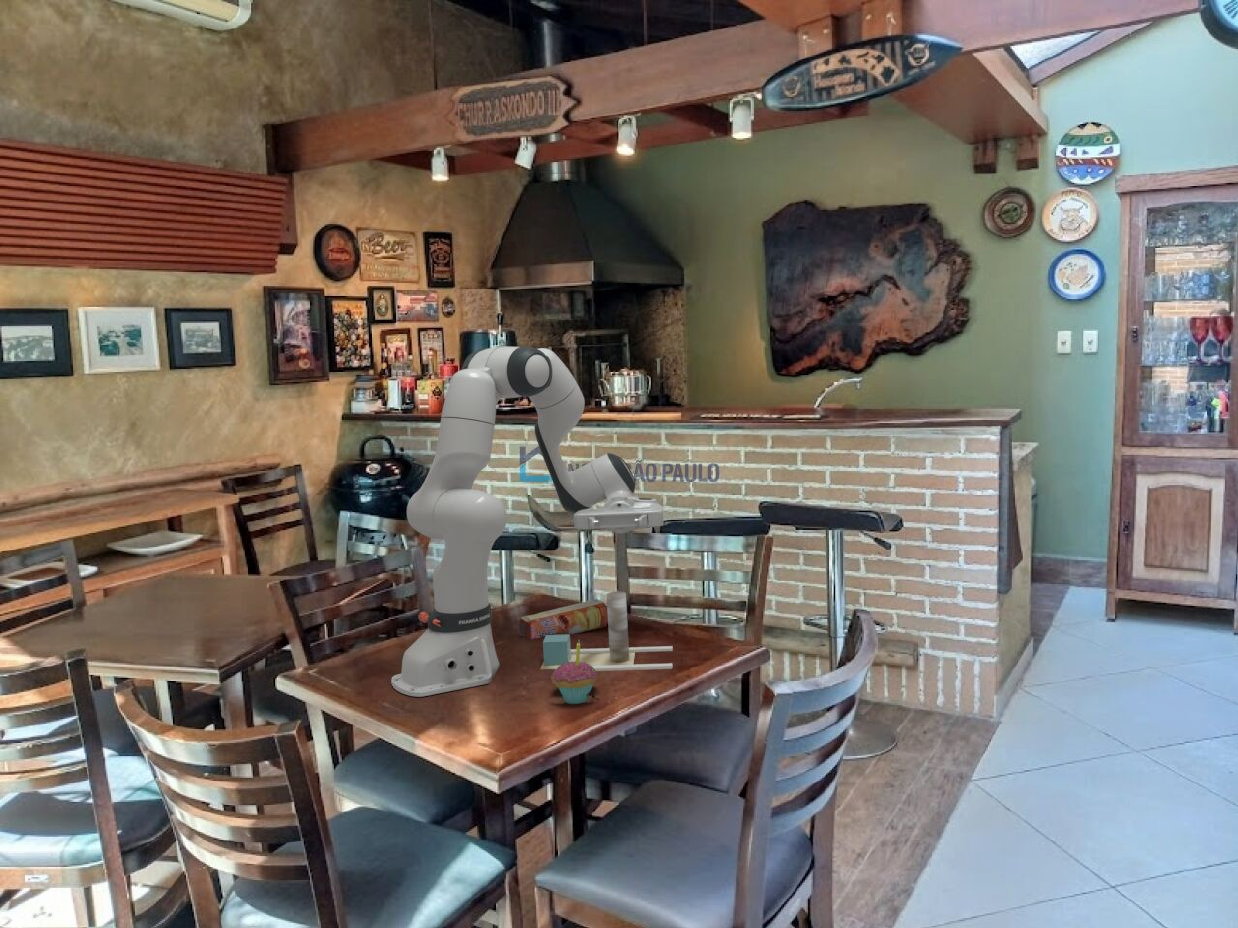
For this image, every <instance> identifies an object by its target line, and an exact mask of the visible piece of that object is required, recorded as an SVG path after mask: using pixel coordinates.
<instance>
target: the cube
mask: <svg viewBox="0 0 1238 928" xmlns="http://www.w3.org/2000/svg"><path fill="white" fill-rule="evenodd" d="M571 649H572V647H571V634H552V635H546V636H544V639H543V641H542V650H543V662H544V666H556V665H561V664H564V663H566V662H570V659H571Z"/></svg>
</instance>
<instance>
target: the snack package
mask: <svg viewBox="0 0 1238 928" xmlns="http://www.w3.org/2000/svg"><path fill="white" fill-rule="evenodd" d="M518 624H519V625H518V628H519V636H522V637H523V638H526V639H527V640H535V639H541V638H542V637H544V638H545V637H546V635H566V634H570V635H572V634H574V635H576V634H580V633H585V632H589V631H593V630H599V629H603V628H605V627H607V624H608V612H607V604H606V603H605V602H603V601H601V600H600V599H596V598H594V599H591V600H587V601H583V602H582V601H581V602H580V603H575V604H569V605H567V606H563V607H557V608H555V609H550V610H549V609H548V610H545V611H542V612H538V613H535V614H534V613H533V614H530V615H524V616H521V617H520V618H519V622H518ZM598 628H599V629H598Z"/></svg>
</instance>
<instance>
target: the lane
mask: <svg viewBox="0 0 1238 928" xmlns="http://www.w3.org/2000/svg"><path fill="white" fill-rule="evenodd" d="M576 649H577V648H574V649H572V648H571V654H576ZM673 649H674V648H673V645H668V646H667V645H666V646H665V645H664V646H663V645H662V646H638V647H637V646H636V647H635V646H634V647H633V646H632V647H629V653H634V652H635V653H647V652H648V653H650V652H653V653H654V652H673V651H674V650H673ZM602 653H610V648H609V647H607V648H605V647H601V648H600V647H598V648H580V654H602ZM592 667H593V668H594V669H595V672H605V671H636V670H639V671H640V670H643V671H644V670H665V669H666V670H671V669H673V667H674V665H673V662H671V663H670V662H669V663H645V664H643V663H641V664H640V663H639V664H638V663H637V664H633V665H604V666H592Z"/></svg>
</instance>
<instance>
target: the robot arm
mask: <svg viewBox="0 0 1238 928" xmlns="http://www.w3.org/2000/svg"><path fill="white" fill-rule="evenodd" d="M521 397H525V398H529V400H530V401H531V403H532V405H533V407H534V408H535V411H536V413H537V421H536V423H535V425H534V436H535V439H536V443H537V445H538V448H539V450H540V453H541V455H542V458H543V461H544V463H545V466H546V468H547V471H548V473H549V475H550V478H551V480H552V483H553V486H554V490H555V494H556V497H557V501H558V503H559V504H560V505H561V507H562V508H563V510H564V511H566V512H567V513H570V514H571V513H572V514H573V526H574V527H573V528H574V529H576V530H596V529H598V530H599V529H608V530H609V531H610V532H612V533H614V534H615V533H616V534H626V533H628V532H633V531H636V530H639V529H641V530H642V529H647V528H649V529H650V528H656V527H662V526H664V525H665V524H664V510H663V509H664V508H663V507H662V505H661V504H659V503H658V501H657V500H658V499H656V498H649V497H647V498H646V497H639V496H638V494H637V493H636V492H635V490H636V484H637V482H636V480H635V476H634V475H633V472H632V470H631V468H630V467H629V466H628V464H627V463H626V461H625V460H624V459H623V458H622V457H621V456H618V455H616V454H614V453H610V452H608V453H604V454H603V455H601V456H599V457H598V458H595V459H594V460H591V461H590V462H588V463H586V464H584V465H583V466H580V467H578V468H577V469H574V470H572V471H569V470H567V468H566V466H565V463H564V461H563V459H562V456H561V453H560V450H559V447H560V445H561V443H562V442H563V440H564V439H565V437H566V436H567V435H568V434H569V433H570V432H571V431H572V430H573V429H574V428H575V427H576V426H577V424H578V423H579V421H580V420H581V418H582V416H583V413H584V410H585V401H586V400H585V397H584V394H583V391H582V390H581V388H580V386H579V384H578V382H577V380H576V379H575V377H574V376H573V374H572V373H571V371H570V369H569V368H568V367H567V366H566V364H565V363H564V362H563V361H562V360H561V358H560V357H559V356H558V355H557V354H556V353H555V352H554V351H553V350H551V349H549V348H546V347H540V348H535V347H532V346H526V345H523V346H508V345H500V346H494V347H489V348H487V347H486V348H485V347H483V348H481V349H477V350H475V351H473V352H472V353H470V354H469V355H468V356H467V357H466V358H465V360H464V362H463V364H462V367H461V369H460V370H459V371H458V370H457V371H456V372H455V373H454V374H453V375H452V376H451V379H450V381H449V384H448V387H447V391H446V394H445V398H444V401H443V406H442V411H441V417H440V418H441V419H440V423H439V425H440V426H439V433H438V438H437V445H436V450H435V454H434V459H433V460H432V461H433V462H432V464H431V466H430V469H429V472H428V473H427V476H426V477H425V480H424V482H423V483H422V485H421V486H420V488H419V489H418V490H417V491H416V492H415V493H414V494H413V495H412V496H411V498H410V499H409V501H408V503H407V506H406V518H407V521H408V524H409V525H410V527H411V528H412V529H413V530H415V531H416V532H418V533H419V534H422V535H423V536H426V537H427V538H430V539H435V540H441V541H444V551H443V556H442V559H441V561H440V563H439V564H438V565H437V566H436V567H435V568H434V570H433V572H432V584H433V585H432V587H433V598H434V599H433V600H434V609H433V610H432V612H431V613H430V614H429V612H426V611H421V612H419V614H418V617H417V618H418V620H419V622H422V623H425V624H426V623H427V627H428V628H427V629H426V630H425V631H424V632H423V633H422V634H421V635H420V636H419V637H418V638H417V639H416V640H415V641H414V642H413V643H412V644H411V645H410V646H409V647H408V648H407V649H406V650H405V651H404V653H403V656H402V662H401V672H400V673H398V674H395V675H393V676H392V677H391V681H390V682H391V683H390V685H391V684H392V685H391V687H392V686H393V687H392V688H393V689H395V691H397V692H399V693H401V694H403V695H407V696H410V697H418V698H422V697H426V696H432V695H437V694H442V693H448V692H451V691H452V692H453V691H457V690H462V689H467V688H473V687H477V686H482V685H487V684H490V683H491V682H492V680H493V678H494V676H495V675H496V674H497V671H498V669H499V668H500V667H501V664H500V661H499V658H498V655H497V650H496V647H495V643H494V637H493V632H492V629H493V613H492V606H491V605H492V604H491V603H490V602H489V587H488V586H489V584H488V566H489V560H490V556H491V551H492V547H493V546H494V544H495V542H496V541H497V539H498V538H500V537H501V535H502V534H503V532H504V530H505V528H506V525H507V515H508V514H507V510H506V507H505V505H504V504H503V502H502V500H501V499H499V498H498V497H496V496H495V495H493V494H490V493H488V492H485V491H483V490H480V489H473V485H474V483H475V480H476V478H477V477H478V476H479V474H480V473H481V471H483V470H484V469H485V468H486V467H487V466H488V465H489V463H490V460H491V458H492V457H491V455H492V448H493V440H494V433H495V427H496V415H497V405H498V402H499V401H500V399H501V398H503V399H515V398H521ZM605 500H606V501H605ZM603 501H605V503H604V504H603V506H602V508H592V507H593V506H595V505H597V504H598V503H601V502H603Z"/></svg>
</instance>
